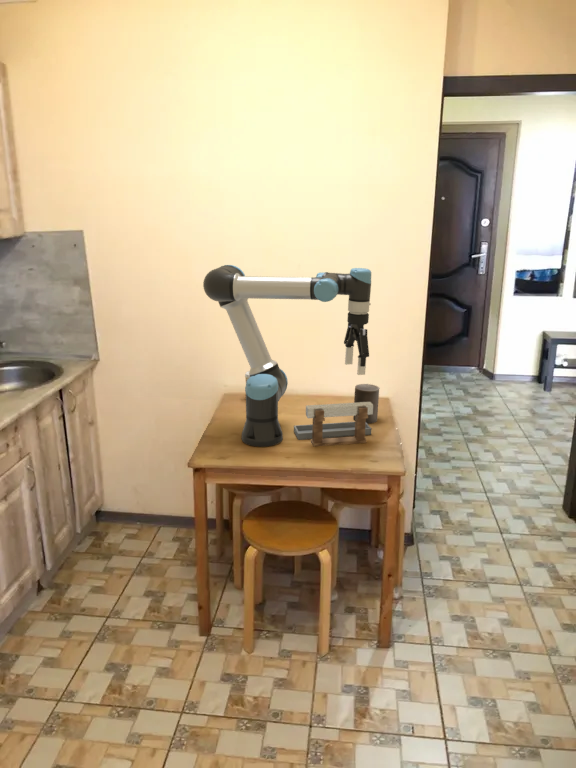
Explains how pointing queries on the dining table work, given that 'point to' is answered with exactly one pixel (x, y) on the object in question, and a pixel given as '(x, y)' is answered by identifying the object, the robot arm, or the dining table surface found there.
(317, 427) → the rack
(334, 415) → the rail
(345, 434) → the tray
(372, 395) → the pillar candle
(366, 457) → the dining table surface
